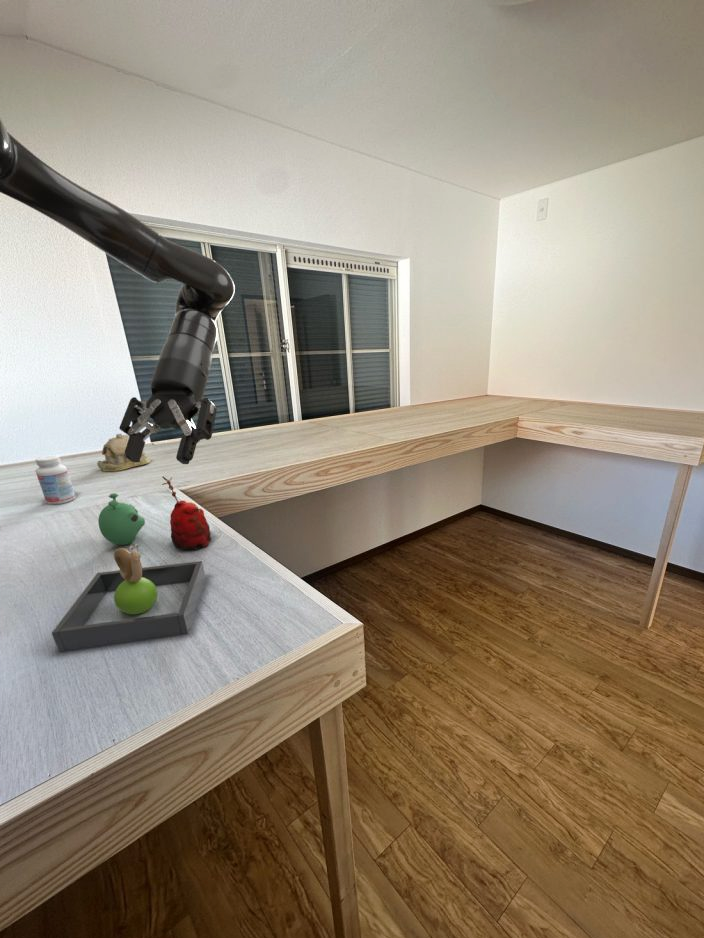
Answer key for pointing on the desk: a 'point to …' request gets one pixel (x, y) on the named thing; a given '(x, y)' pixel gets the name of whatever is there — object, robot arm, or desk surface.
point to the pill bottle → (54, 480)
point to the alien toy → (120, 522)
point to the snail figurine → (133, 584)
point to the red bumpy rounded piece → (188, 524)
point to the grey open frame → (82, 636)
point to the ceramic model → (118, 455)
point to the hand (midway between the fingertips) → (156, 461)
